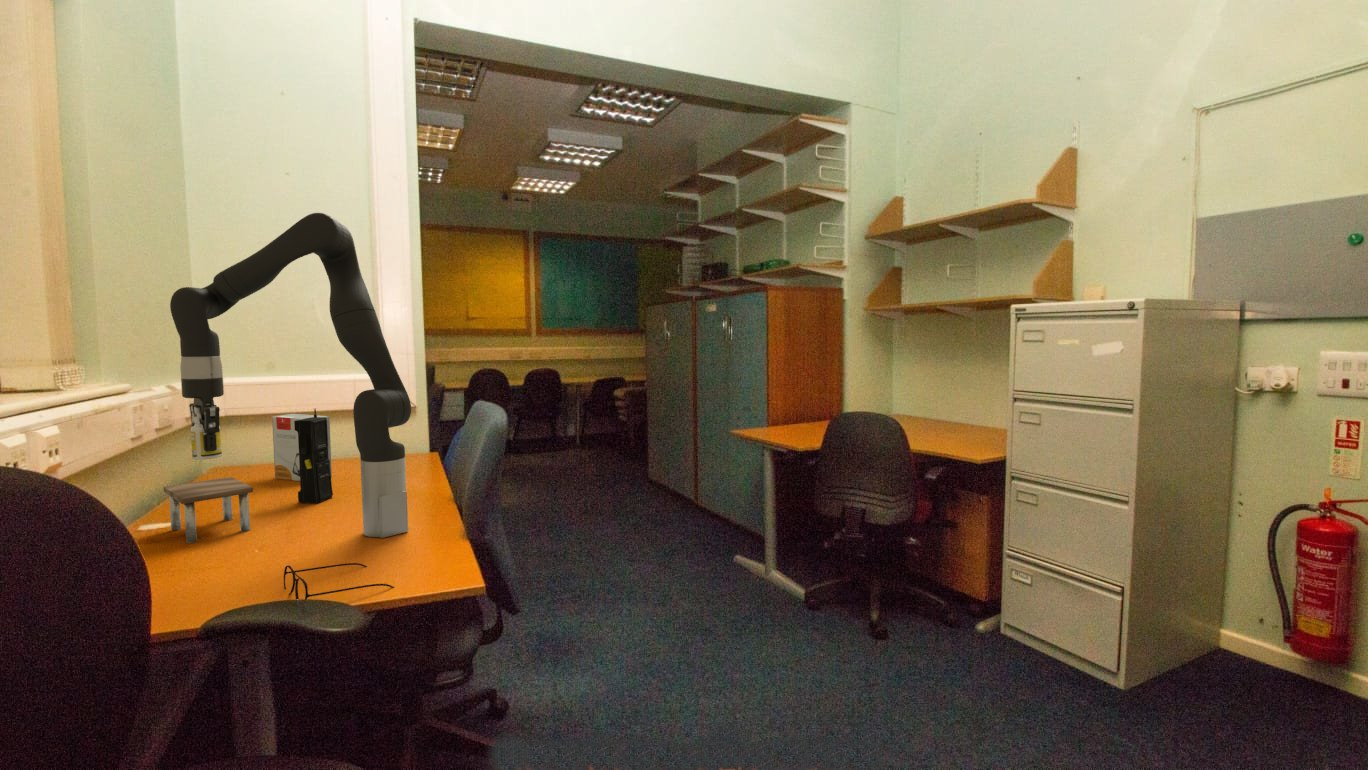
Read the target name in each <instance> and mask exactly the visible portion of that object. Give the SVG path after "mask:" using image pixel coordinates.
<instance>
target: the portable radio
mask: <svg viewBox="0 0 1368 770" xmlns="http://www.w3.org/2000/svg"><path fill="white" fill-rule="evenodd" d="M313 410H314V414H313V415H314V417H311V418H305V419H301V420H296V421H294V426H295V431H297V432H298V444H299V465H300V481H299V483H300V484H299V485H300V487H299V488H300V489H299V491H297V499H298V500H297V501H298V503H300V504H319V503H321V502H324V501H326V500H328V499H331V498H332V497H333V495H334V492H333V484H332V477H331V471H330V460H329V456H328V432H327V419H326V417H317V410H316V409H313Z"/></svg>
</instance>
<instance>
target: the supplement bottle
mask: <svg viewBox="0 0 1368 770" xmlns="http://www.w3.org/2000/svg"><path fill="white" fill-rule="evenodd" d="M194 423H195V426H193V427H192V426H191V427H190V440H191V441H190V443H191V457H192V459H193V460H200V461H201V460H202V461H203V460H213V459H217V458H221V457H222V454H223V453H222V451H223V450H222V438H221V437H222V435H221V426H220V425H219V429H220V431H219V432H217V434H216V445H217V449H216V450H215V451H210V452H206V451H204V442H203V434H202V427H201V426H199V425H198V420H197V416H194ZM211 427H212V425H209V428H211Z"/></svg>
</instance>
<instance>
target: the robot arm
mask: <svg viewBox="0 0 1368 770" xmlns="http://www.w3.org/2000/svg"><path fill="white" fill-rule="evenodd" d="M311 254H315V255H317V256H318V258H319V259H320V261H321V263H322V265H323V268H324V270H325V272H326V276H327V278H328V281H329V287H330V288H329V289H330V293H329V315H330V319H331V321H332V325H333V327H334V330H335V333H336V336H337V338H338V340H339V342H340V344H341V346H342V347H343V348H344V349H345V350H346V352H348V353H349V354H350V356H351V357H352V358H353V359H354V360H356V362H358V363H359V365H360V366H361V367H362V368H363V369H364V371H365V372H366V374H367V375H368V377H369V379H370V382H371V384H372V388H373V389H366V390H363V391H362V392H359V394H358V395H356V398H355V399H354V400H355V401H354V402H353V410H352V411H353V424H354V426H353V427H354V435H355V436H354V437H355V443H356V444H355V445H356V448H357V449H358V451H359V456H360V478H361V479H360V480H361V481H360V483H361V502H362V503H361V505H362V526H363V528H362V529H363V535H364V536H366V537H369V538H370V537H371V538H380V539H384V538H387V537H392V536H395V535H399V534H403V533H408V532H409V519H408V517H409V516H408V513H409V512H408V492H407V478H406V477H407V475H406V472H407V471H406V448H405V445H404V444H403V443H401V442H395V441H393V440H392V438H391V437H390V436H391V435H390V428H395V427H398V426H403V425H405V424H406V423H407V422H408V421H409V420H410V418H411V414H412V404H411V400H410V397H409V394H408V391H407V389H406V387H405V386H404V383H403V380H402V379H401V376H400V375H399V373H398V370H397V368H396V366H395V363H394V361H393V359H392V355H391V353H390V350H389V348H388V345H387V343H386V340H385V337H384V335H383V331H382V327H381V325H380V321H379V319H378V315H377V313H376V310H375V306H374V305H373V303H372V299H371V296H370V294H369V291H368V288H367V286H366V283H365V279H364V277H363V275H362V273H361V268H360V264H359V259H358V255H357V251H356V246H355V241H354V238H353V235H352V233H351V231H350V230H349V228H348V227H347V226H346V225H344V224H343V223H341V222H340V221H339V220H337V219H335V218H334V217H332V216H331V215H329V214H326V213H324V212H313V213H309V214H307V215H306V216H304V217H302V218H301V219H299V220H298V221H297V222H296V223H294V224H293V225H291V226H290V227H289V228H288V229H286V230H285V231H284V232H283V233H281V234H280V235H279V236H277V237H276V238H275V239H273V240H272V241H270V242H269V243H268V244H266V245H265V246H263V247H262V248H260V249H258V251H257V252H255V253H253V254H251V255H250V256H248V257H246V258H245V259H242V260H241V261H239V262H236V263H235V264H232V265H231V266H230V267H229V266H228V267H227V268H226V269H224V270H221V271H220V272H218V273H217V274H216V275H214V277H213V280H212V283H210V284H208V285H206V286H204V287H201V288H199V287H194V286H193V287H192V286H191V287H190V286H185V287H180V288H178V289H177V290H176V291H174V292H173V294H172V295H171V298H170V304H169V305H170V306H169V307H170V313H171V316H172V320H173V323H174V326H175V328H176V333H178V336H179V341H180V343H179V344H180V382H181V384H180V385H181V396H182V398H183V399H184V398H185V399H193V403H191V402H190V403H189V405H188V407H189V413H190V422H191V427H193V426H195V423H194V416H197V420H198V425H199V426H201V427H202V434H203V442H204V451H206V452H210V451H215V450H216V449H217V445H216V434H217V432H219V431H220V432H221V428H220V429H219V426H220V410H221V409H220V407H219V406H217V405H216V404H215V401H214V399H215V398H218V397H220V398H221V397H223V396H224V394H225V393H224V391H225V390H224V374H223V373H224V372H223V364H222V360H221V359H222V358H221V348H220V346H221V345H220V337H219V335H218V333H217V332H216V331H214V330H212V329H211V327H210V324H209V321H208V320H212V319H215V318H217V317H220V316H221V315H223V314H225V313H226V312H228V311H229V310H230V309H232V307H234V306H235V305H236V304H237V303H238V302H239V301H240V300H242V299H243V300H244V299H245V298H247V297H249V296H250V295H253V294H255V293H256V292H259V291H260V290H262V289H264V288H265V287H266V286H268V285H270V284H271V283H272V282H273V281H274V280H275V279H276V278H277V277H278V276H279V274H280V273H281V272H282V271H283V270H284V269H285V268H286V267H287V266H288V265H290V264H291V263H293V262H294V261H296V260H298V259H300V258H303V257H305V256H309V255H311ZM209 425H212V427H211V428H209Z"/></svg>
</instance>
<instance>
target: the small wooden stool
mask: <svg viewBox="0 0 1368 770" xmlns="http://www.w3.org/2000/svg"><path fill="white" fill-rule="evenodd" d="M163 493H165V494H166V495H167V496H168V497H169V498H168V500H169V513H170V514H169V515H170V529H171V530H177V531H181V530H182V518H181V504H182V505H183V509H184V510H183V512H184V527H185V541H186V542H185V543H186V544H193V543H195V542H198V539H197V525H196V524H197V522H196V507H195V506H196V505H195V503H198V502H204V501H209V500H215V499H221V500H222V501H221V502H222V503H221V504H222V515H223V517H222V518H223V519H222V520H223V521H225V522H227V521H228V522H229V521H232V520H233V503H232V502H233V501H232V497H234V496H238V507H239V508H238V509H239V527H240V529H239V530H240V532H241V533H243V532H249V531H251V521H250V518H251V517H250V503H249V494H250V493H254V488H253V486H251V485H249V484H247V483H245V482H243V481H240V480H239V479H237V478H235V477H232V476H228V477H221V478H214V479H208V480H202V481H201V480H200V481H194V482H187V483H181V484H174V485H168V486H167V485H166V486H163ZM180 529H181V530H180Z"/></svg>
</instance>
